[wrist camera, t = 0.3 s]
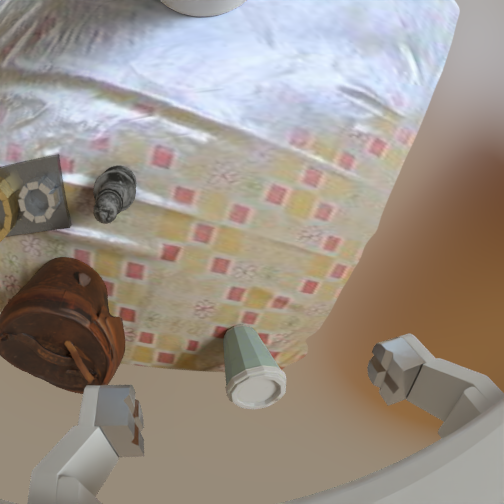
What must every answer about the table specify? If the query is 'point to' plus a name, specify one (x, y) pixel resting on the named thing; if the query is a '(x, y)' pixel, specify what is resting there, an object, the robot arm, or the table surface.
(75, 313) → the case
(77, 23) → the table surface
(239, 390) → the disposable coffee cup
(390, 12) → the table surface
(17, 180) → the socket plate
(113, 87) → the table surface
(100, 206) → the stone chess piece
